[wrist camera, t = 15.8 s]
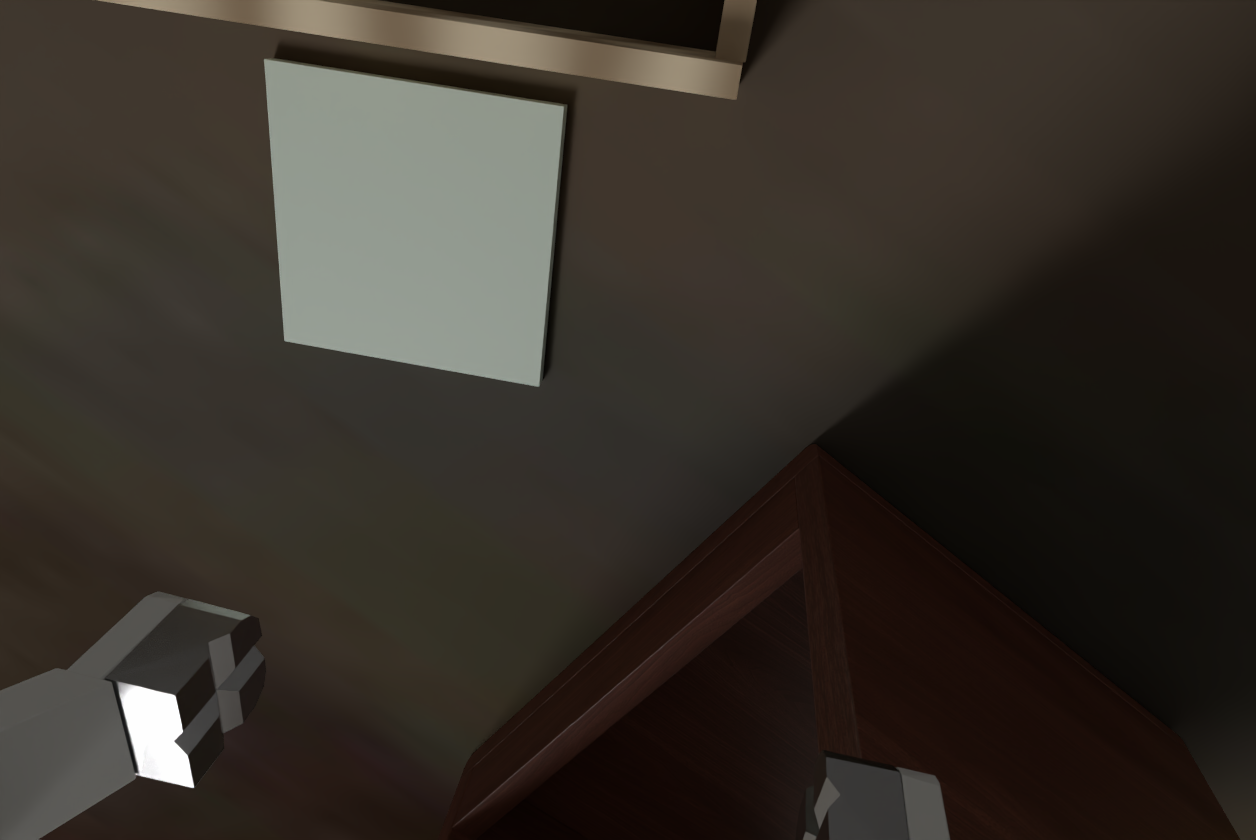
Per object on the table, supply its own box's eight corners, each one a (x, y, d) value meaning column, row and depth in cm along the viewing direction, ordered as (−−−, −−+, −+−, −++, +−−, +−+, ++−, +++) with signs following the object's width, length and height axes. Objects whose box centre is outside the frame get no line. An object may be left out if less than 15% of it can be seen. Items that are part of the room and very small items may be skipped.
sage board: (567, 104, 37) (563, 106, 37) (542, 380, 44) (539, 386, 43) (273, 58, 38) (264, 59, 37) (292, 335, 45) (284, 340, 44)
